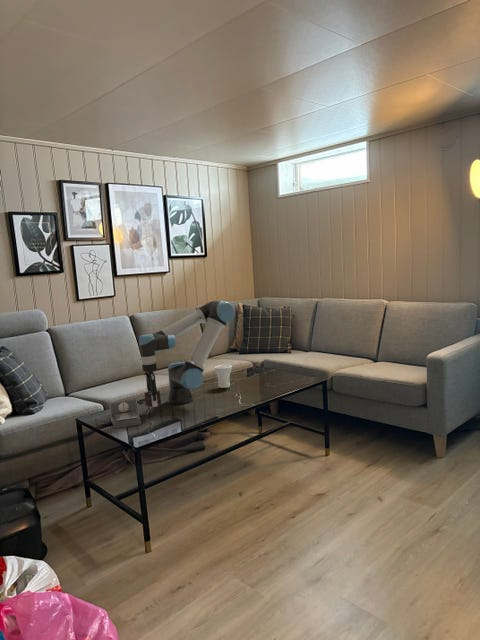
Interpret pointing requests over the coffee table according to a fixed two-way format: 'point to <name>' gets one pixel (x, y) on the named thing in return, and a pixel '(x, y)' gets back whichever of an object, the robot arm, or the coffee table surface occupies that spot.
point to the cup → (223, 375)
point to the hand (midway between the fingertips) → (153, 404)
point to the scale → (124, 407)
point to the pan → (125, 416)
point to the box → (149, 400)
